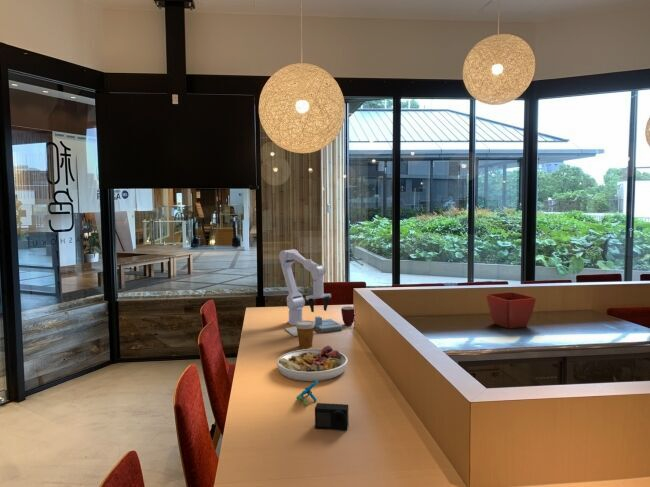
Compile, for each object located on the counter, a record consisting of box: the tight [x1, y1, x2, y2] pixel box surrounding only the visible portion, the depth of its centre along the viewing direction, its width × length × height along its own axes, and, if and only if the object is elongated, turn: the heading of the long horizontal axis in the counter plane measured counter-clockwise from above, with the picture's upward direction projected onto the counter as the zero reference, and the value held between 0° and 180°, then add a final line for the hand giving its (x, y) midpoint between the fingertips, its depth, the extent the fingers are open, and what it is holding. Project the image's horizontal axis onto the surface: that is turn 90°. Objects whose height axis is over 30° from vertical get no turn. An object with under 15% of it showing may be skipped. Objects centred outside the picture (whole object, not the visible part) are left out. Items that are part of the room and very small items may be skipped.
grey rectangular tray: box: [314, 325, 343, 334], centre depth 271 cm, size 16×12×2 cm
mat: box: [284, 326, 318, 338], centre depth 265 cm, size 16×13×1 cm
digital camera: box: [314, 402, 350, 432], centre depth 153 cm, size 10×5×7 cm, turn 81°
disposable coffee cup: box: [295, 320, 315, 349], centre depth 238 cm, size 10×10×12 cm
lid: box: [312, 316, 343, 329], centre depth 271 cm, size 16×12×5 cm
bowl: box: [276, 345, 348, 382], centre depth 205 cm, size 30×30×8 cm
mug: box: [340, 306, 355, 327], centre depth 276 cm, size 10×8×10 cm
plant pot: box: [486, 291, 537, 329], centre depth 270 cm, size 19×19×17 cm
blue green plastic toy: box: [296, 380, 319, 407], centre depth 173 cm, size 11×6×10 cm
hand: (318, 311), depth 268 cm, fingers open, 7 cm apart
